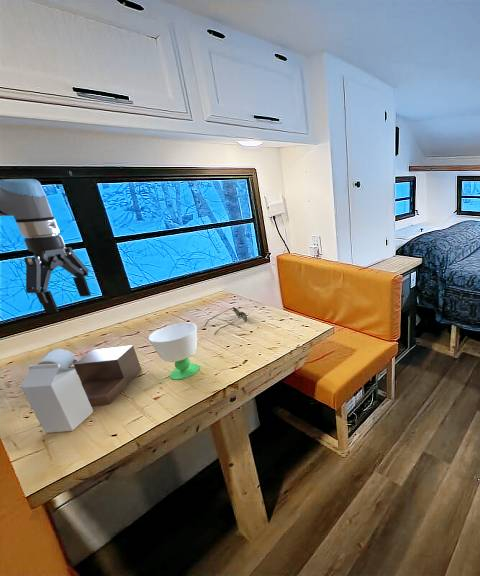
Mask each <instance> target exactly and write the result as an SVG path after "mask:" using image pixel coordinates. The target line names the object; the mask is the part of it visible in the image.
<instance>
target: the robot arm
mask: <svg viewBox="0 0 480 576" xmlns="http://www.w3.org/2000/svg"><path fill="white" fill-rule="evenodd" d="M47 197H48V195H47V193H45V190H44V188H43V187H42V183H41V182H40V181H39V180H37V179H35V178H9V179H8V178H7V179H6V178H5V179H0V217H7V216H8V217H11V216H13V219H14V220H15V222H16V226H17V228H18V230H19V233H20V235H21V236H22V237H23V238H24V239H23V241H24V243H25V246H26V248H27V250H28V252H32V253H33V254H34V256H29V257H24V263H25V292H26V293H27V294H35V295H36V297H37V300H38V301H39V303H40V304H41V306H42V308H43V310H44V312H45V314H57V313H59V312H60V310H59V308H58V306H57V303H56V301H55V299H54V296H53V294H52V291H51V290H48V287H49V283H50V279H51V275H52V271H54V270H55V269H56V268H59V267H61V268H62V269H64V270H65V271H66V272H68V273H70V274H71V275H73V276H74V277H72V280H73V282H74V284H75V287H76V290H77V292H78V294H79V297H81V298H82V297H91V296H92V293H91V290H90V288H89V285H88V282H87V279H86V277H88V276H89V269H88V268H87V266H86V265H85V264H84V263H83V262H82V261H81V259H80V258H79V257H78V256H77V255H76V254H75V251H74V250H73V248H72V247H70V246H69V247H68V246H67V247H66V244H65V241H64V239H63V236H62V235H61V234H59V233H60V229H59V227H58V223H57V221H56V218H55V216H54V215H53V212H52V208H51V206H50V203H49V200H48V198H47Z"/></svg>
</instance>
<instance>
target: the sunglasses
mask: <svg viewBox="0 0 480 576" xmlns="http://www.w3.org/2000/svg"><path fill="white" fill-rule="evenodd" d="M231 310H233V312H234V313H235V316H236V317H237V316H238V317H237V318H238V319H237V320H234V321H232V322H230V323H228V324H225V325H224V326H221V327H220V328H218V329H217V330H215V333H214V335H216V334H217V333H218V332H219V331H220V330H221V329H223V328H225V327H228V326H230V325H232V324H234V323H236V322H238V321H240V320H241V319H242V320H243V321H244V322H245V321H246V322H245V323H247V322H248V317H247V316H248V315H247V313H245V312H244V311H240V310H239V309H238V308H236V307H234V306H233V307H231V308H228V309H227V310H224V311H223V312H220V313H218V314H217V315H214V316H213V317H211V318H210V319H207V321H206V322H205V324H204V328H205V327H206V326H207V324H208V323H209V322H210V321H211V320H213V319H215V318H217V317H218V316H220V315H222V314H223V313H226V312H228V311H231Z"/></svg>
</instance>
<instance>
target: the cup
mask: <svg viewBox="0 0 480 576" xmlns="http://www.w3.org/2000/svg"><path fill="white" fill-rule="evenodd" d="M148 341H149V343H150V345H151V346H152V347H153V349H154V351H155V352H156V354H157V355H158V357H159V358H160V359H161V360H162V361H164V362H167V363H174V367H175V368H174V369H173V370H172V371H171V372H170V373H169V378H170V379H171V380H177V381H178V380H184V379H187V378H190V377H192V376H194V375H195V374H197V373H198V372H199V371H200V369H201V368H200V365H199V364H197V363H191V360H190V357H192V356H193V355H194V354H195V353H196V351H197V349H198V327H197V324H195V323H193V322H177V323H172V324H169V325H166V326H163V327H160V328H158V329H156V330H154V331H152V333H150V335H148Z"/></svg>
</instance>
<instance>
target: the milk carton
mask: <svg viewBox="0 0 480 576" xmlns="http://www.w3.org/2000/svg"><path fill="white" fill-rule="evenodd" d="M27 367H28V369H29V370H28V371H27V374H26V376H25V378H24V380H23V382H22V383H21V386H20V388H21V390H22V392H23V394H24V396H25V398H26V400H27V402H28V404H29V406H30V407H31V409H32V411H33V413H34V415H35V417H36V419H37V421H38V423H39V425H40V426H41V428H42V430H43V432H44V433H45V434H49V433H62V432H63V433H64V432H72V431H75V429H76V428H77V427H78V426H80V425H81V424H82V423H83V422H84V421H86V419H88V417H90V416H91V415H92V414H93V413H94V409H93V406H92V407H91V405H90V402H89V400H88V398H87V396H86V393H85V391H84V389H83V386H82V384H81V380H80V378H79V376H78V374H77V372H76V371H75V368H70V367H69V368H62V367H60V364H44V365H37V364H30V365H27Z"/></svg>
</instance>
